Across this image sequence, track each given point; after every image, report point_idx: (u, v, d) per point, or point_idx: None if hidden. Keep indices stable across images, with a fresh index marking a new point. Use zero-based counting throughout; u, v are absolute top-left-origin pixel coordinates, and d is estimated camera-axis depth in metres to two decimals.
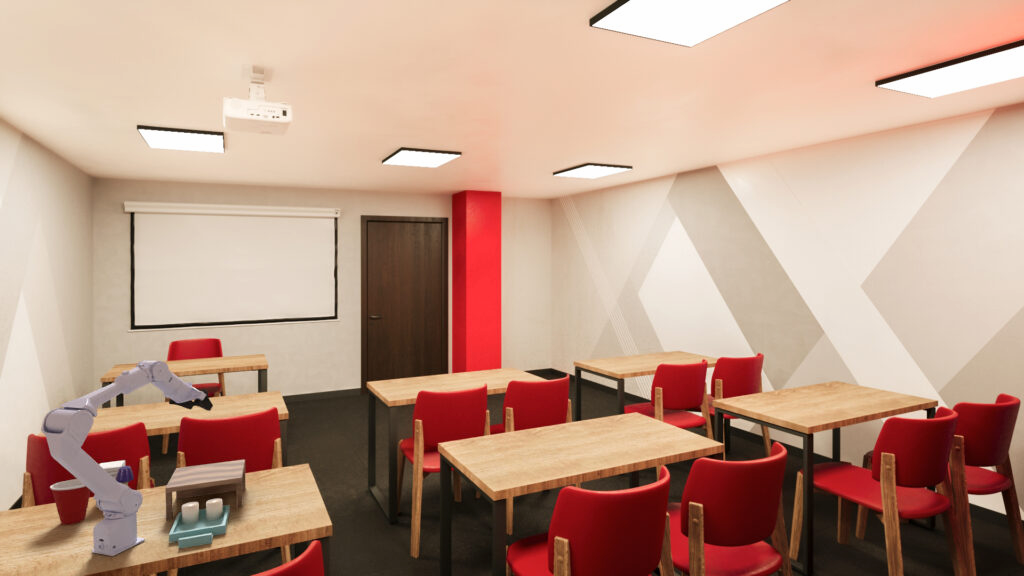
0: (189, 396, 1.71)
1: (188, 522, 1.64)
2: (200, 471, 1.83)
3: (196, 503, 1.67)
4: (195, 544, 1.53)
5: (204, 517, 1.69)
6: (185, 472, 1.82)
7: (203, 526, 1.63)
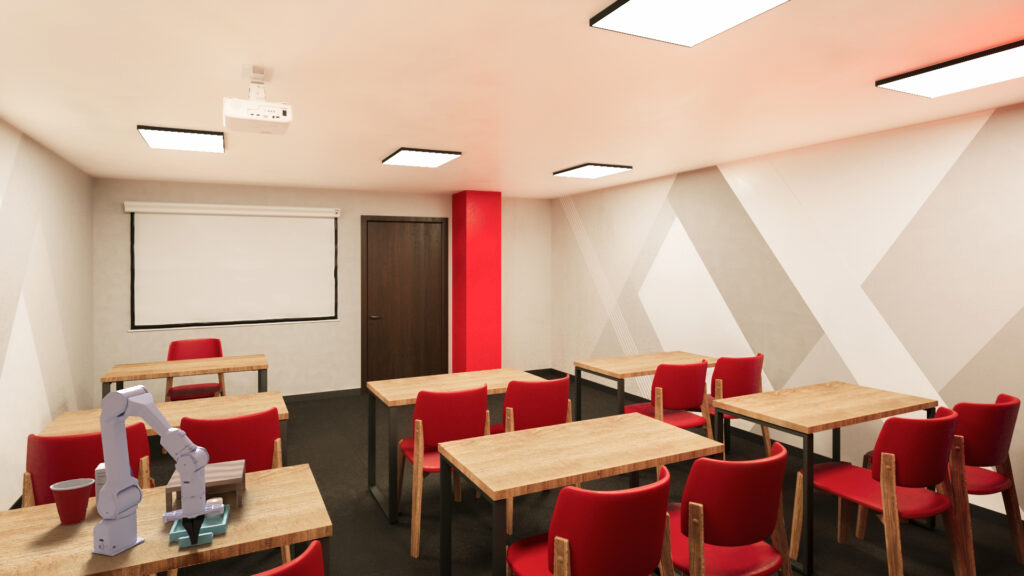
0: None
1: None
2: None
3: None
4: None
5: None
6: None
7: (203, 525, 1.63)
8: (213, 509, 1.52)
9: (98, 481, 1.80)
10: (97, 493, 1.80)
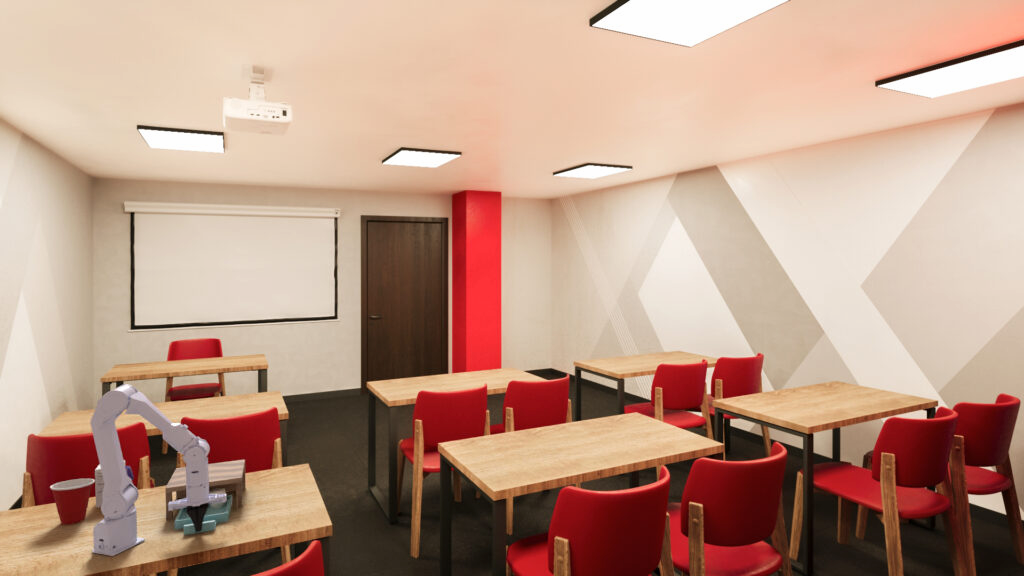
0: None
1: None
2: None
3: None
4: None
5: (208, 506, 1.77)
6: (185, 472, 1.82)
7: (207, 514, 1.71)
8: (216, 498, 1.60)
9: (98, 481, 1.80)
10: (97, 493, 1.80)
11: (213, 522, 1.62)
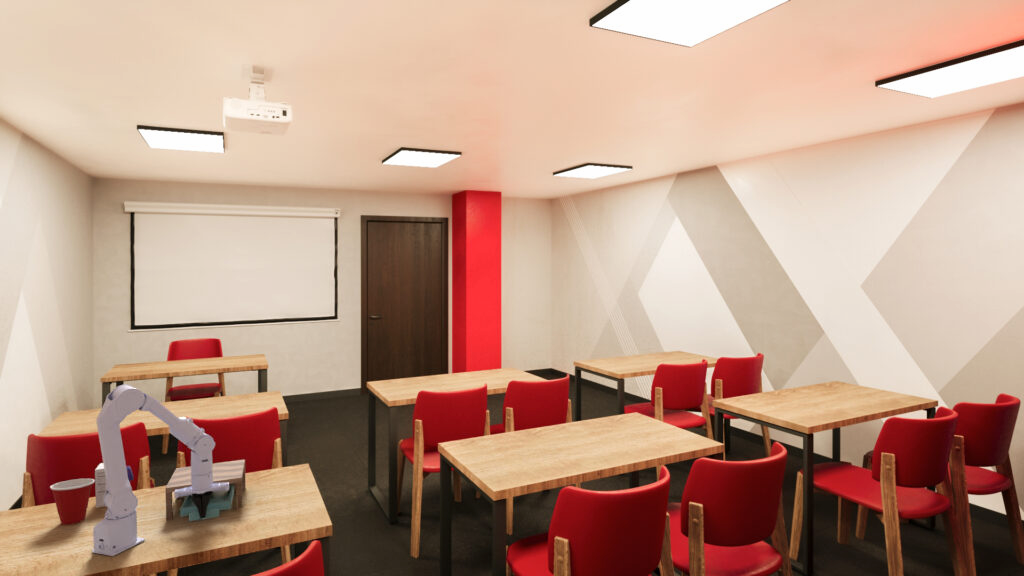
0: None
1: None
2: None
3: None
4: None
5: None
6: (185, 472, 1.82)
7: (211, 502, 1.80)
8: (219, 486, 1.69)
9: (98, 481, 1.80)
10: (97, 493, 1.80)
11: (217, 509, 1.71)
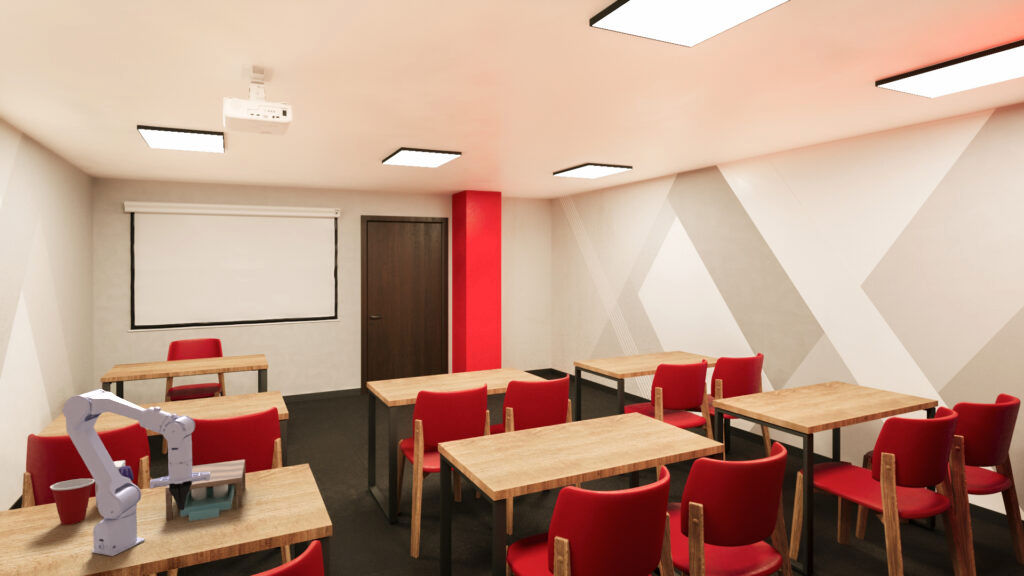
0: (168, 478, 1.54)
1: (197, 499, 1.82)
2: (200, 471, 1.83)
3: None
4: (204, 517, 1.70)
5: (211, 495, 1.86)
6: None
7: (211, 502, 1.80)
8: (200, 476, 1.55)
9: None
10: None
11: (217, 509, 1.71)
